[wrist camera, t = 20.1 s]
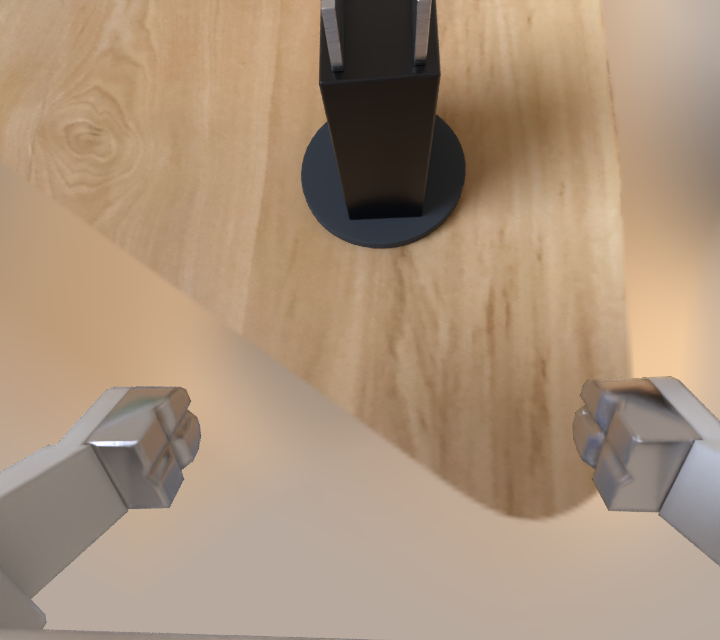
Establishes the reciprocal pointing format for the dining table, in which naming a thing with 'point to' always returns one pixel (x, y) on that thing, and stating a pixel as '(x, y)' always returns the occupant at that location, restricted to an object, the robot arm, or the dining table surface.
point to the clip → (380, 100)
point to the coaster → (386, 232)
